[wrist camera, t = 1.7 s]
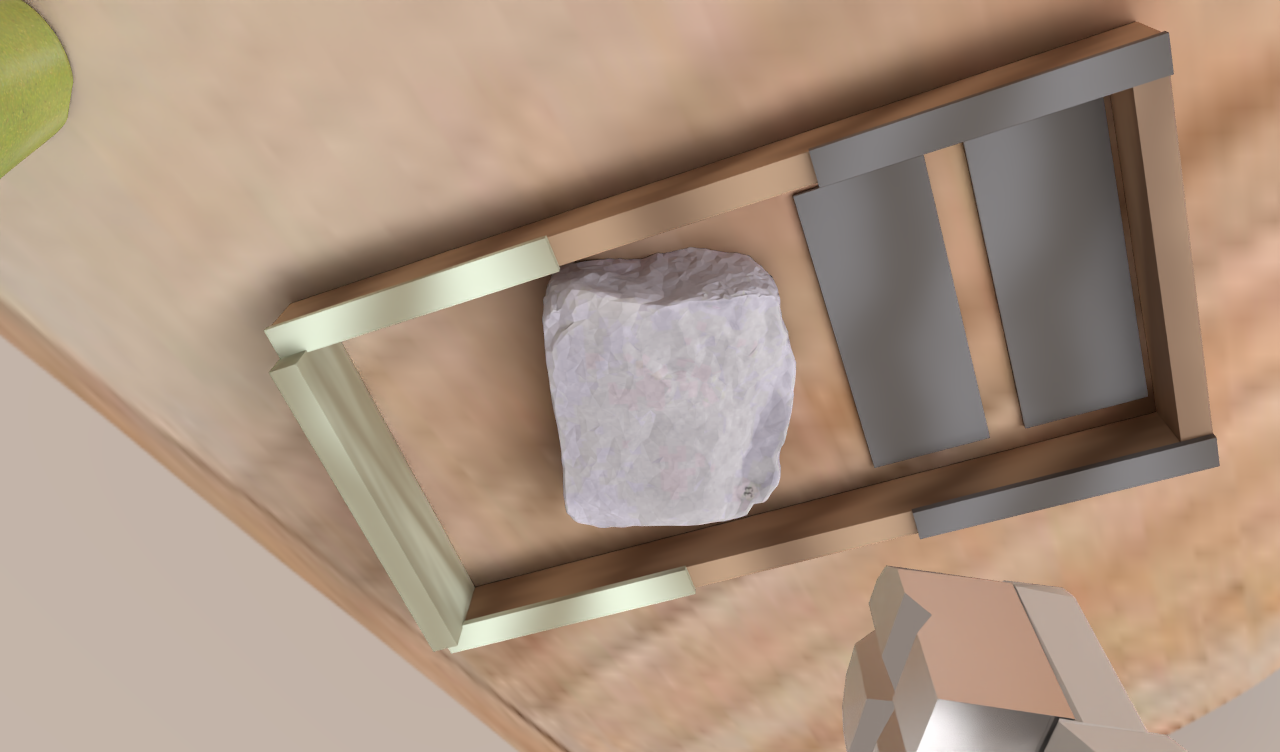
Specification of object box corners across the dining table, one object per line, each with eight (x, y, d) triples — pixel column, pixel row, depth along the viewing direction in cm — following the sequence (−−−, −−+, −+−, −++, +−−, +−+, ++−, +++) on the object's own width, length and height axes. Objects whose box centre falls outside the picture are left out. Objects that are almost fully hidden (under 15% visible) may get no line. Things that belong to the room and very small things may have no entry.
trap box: (1136, 18, 35) (1184, 39, 32) (1189, 429, 43) (1233, 483, 39) (289, 301, 42) (251, 344, 39) (463, 612, 50) (445, 672, 46)
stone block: (769, 222, 42) (527, 256, 41) (803, 268, 38) (535, 307, 37) (774, 460, 48) (563, 493, 47) (804, 522, 44) (573, 561, 43)
